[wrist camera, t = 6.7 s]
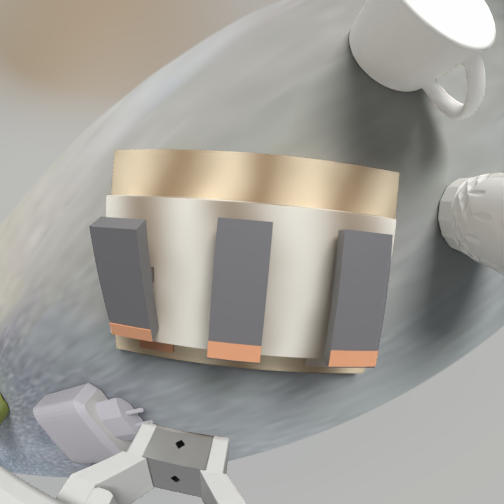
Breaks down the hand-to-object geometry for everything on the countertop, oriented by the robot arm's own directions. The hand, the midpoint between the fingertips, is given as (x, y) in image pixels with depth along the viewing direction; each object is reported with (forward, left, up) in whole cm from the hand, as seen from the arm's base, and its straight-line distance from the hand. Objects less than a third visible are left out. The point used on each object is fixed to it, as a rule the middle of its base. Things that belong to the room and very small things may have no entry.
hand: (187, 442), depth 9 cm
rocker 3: (-7, -4, -10) cm, 13 cm away
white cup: (-17, -14, -16) cm, 27 cm away
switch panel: (0, -3, -16) cm, 16 cm away
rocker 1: (+7, -1, -10) cm, 12 cm away
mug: (-7, -24, -16) cm, 30 cm away
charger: (+9, +20, -17) cm, 27 cm away
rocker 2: (0, -3, -10) cm, 10 cm away
